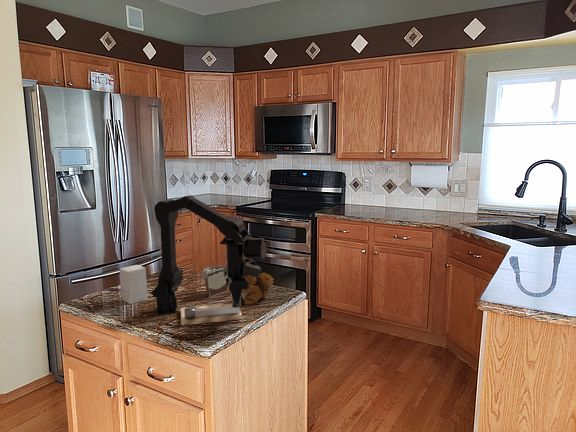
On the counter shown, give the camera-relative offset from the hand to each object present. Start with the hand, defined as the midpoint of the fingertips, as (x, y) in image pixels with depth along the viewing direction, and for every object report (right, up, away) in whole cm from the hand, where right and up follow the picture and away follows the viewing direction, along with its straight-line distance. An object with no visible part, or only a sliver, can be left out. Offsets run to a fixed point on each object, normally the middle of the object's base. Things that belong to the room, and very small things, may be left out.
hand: (236, 301), depth 152 cm
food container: (-12, -2, +26) cm, 29 cm away
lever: (-8, -4, -1) cm, 9 cm away
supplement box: (-41, -3, +19) cm, 46 cm away
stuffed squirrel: (+5, -3, +19) cm, 20 cm away
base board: (-9, -5, +3) cm, 11 cm away
